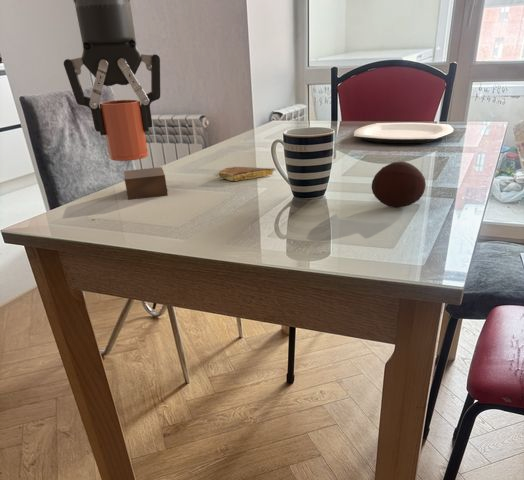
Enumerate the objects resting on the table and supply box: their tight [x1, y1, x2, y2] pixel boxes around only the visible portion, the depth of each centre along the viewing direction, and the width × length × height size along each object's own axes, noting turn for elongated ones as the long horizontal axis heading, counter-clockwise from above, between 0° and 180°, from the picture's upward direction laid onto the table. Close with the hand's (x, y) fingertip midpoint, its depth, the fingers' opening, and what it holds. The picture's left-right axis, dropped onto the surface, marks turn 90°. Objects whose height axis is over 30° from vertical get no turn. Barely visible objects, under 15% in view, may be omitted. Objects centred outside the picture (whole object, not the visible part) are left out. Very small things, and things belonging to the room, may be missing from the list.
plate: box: [353, 122, 454, 144], centre depth 144 cm, size 27×27×2 cm
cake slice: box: [218, 166, 275, 182], centre depth 113 cm, size 11×8×2 cm
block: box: [123, 166, 169, 200], centre depth 106 cm, size 8×8×4 cm
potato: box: [371, 161, 427, 209], centre depth 87 cm, size 8×9×8 cm
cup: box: [99, 99, 149, 162], centre depth 79 cm, size 6×6×8 cm
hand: (124, 132), depth 79 cm, fingers closed on cup, 6 cm apart
